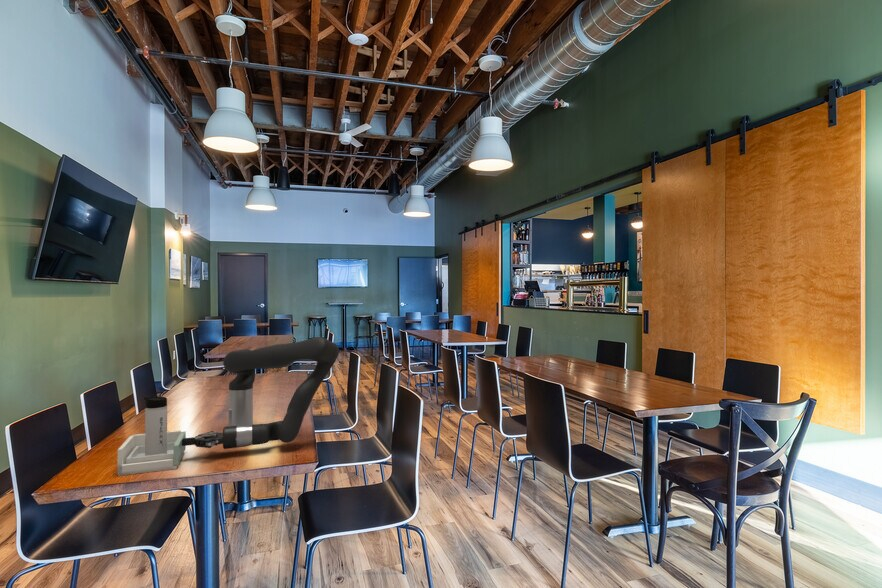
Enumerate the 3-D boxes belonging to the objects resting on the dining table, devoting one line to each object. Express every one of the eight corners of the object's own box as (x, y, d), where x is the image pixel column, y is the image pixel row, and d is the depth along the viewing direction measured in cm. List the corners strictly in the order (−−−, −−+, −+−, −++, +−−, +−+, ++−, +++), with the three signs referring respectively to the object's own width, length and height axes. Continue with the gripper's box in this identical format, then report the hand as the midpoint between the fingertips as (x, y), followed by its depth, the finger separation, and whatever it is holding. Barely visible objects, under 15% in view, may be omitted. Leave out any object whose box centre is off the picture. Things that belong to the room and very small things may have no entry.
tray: (185, 448, 166) (185, 431, 166) (178, 464, 150) (178, 445, 150) (137, 454, 160) (137, 435, 160) (124, 470, 144) (124, 450, 145)
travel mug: (146, 455, 157) (146, 395, 157) (168, 452, 159) (168, 393, 159) (141, 461, 151) (141, 399, 151) (164, 458, 153) (165, 397, 153)
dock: (183, 452, 166) (184, 430, 166) (176, 468, 150) (176, 443, 150) (130, 458, 160) (131, 435, 160) (117, 475, 144) (117, 449, 144)
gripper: (238, 421, 171) (184, 426, 164) (237, 430, 158) (179, 436, 152) (238, 441, 171) (184, 447, 164) (237, 452, 158) (179, 459, 152)
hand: (182, 442), depth 158 cm, fingers closed
